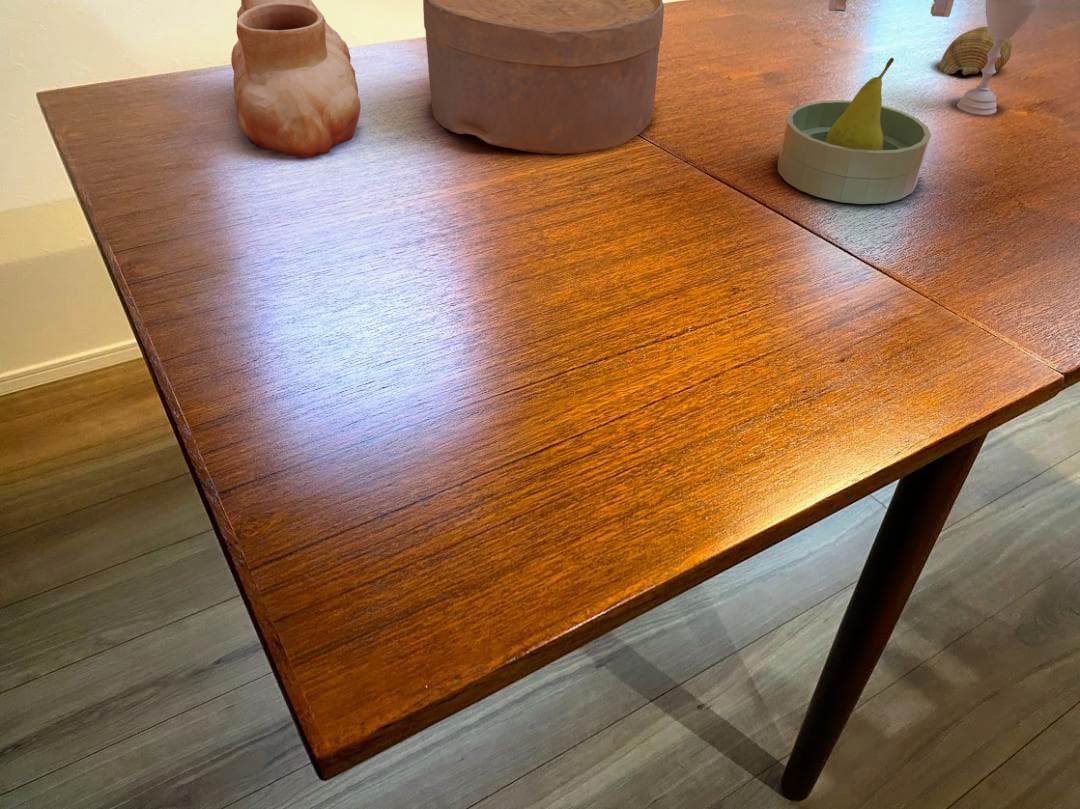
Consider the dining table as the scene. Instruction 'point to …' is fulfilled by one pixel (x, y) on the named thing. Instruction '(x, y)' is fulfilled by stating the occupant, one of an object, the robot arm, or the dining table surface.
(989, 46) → the seashell
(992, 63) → the chalice
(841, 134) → the fruit
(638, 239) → the dining table surface
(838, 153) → the bowl
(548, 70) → the container
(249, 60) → the ceramic vessel
